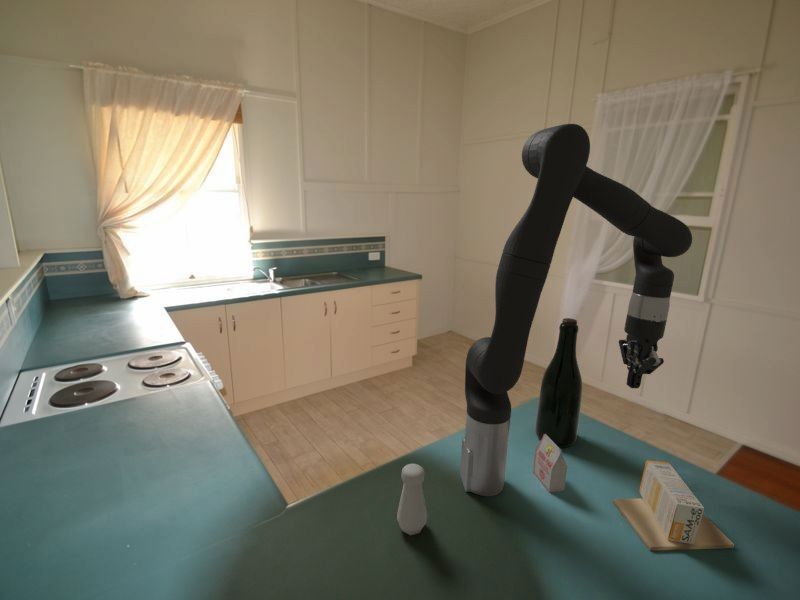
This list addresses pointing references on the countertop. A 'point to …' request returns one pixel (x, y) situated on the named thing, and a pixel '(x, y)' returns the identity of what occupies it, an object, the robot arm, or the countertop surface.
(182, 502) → the countertop surface
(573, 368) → the dark green wine bottle
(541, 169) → the robot arm
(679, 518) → the supplement box
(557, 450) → the white printed carton box
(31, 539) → the countertop surface
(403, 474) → the salt shaker
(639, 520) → the tan wooden board
